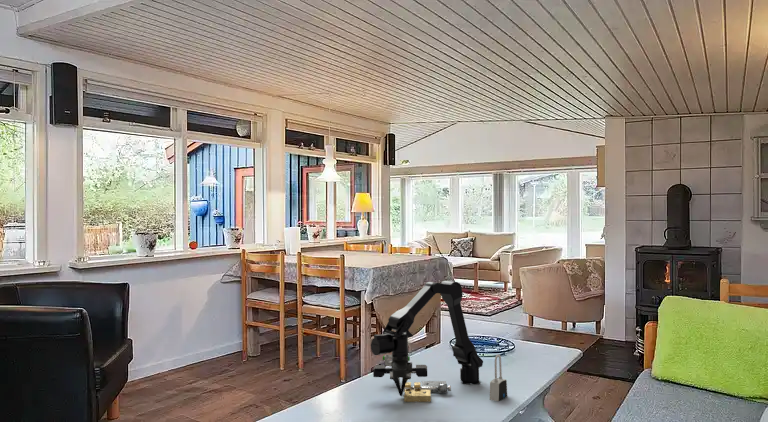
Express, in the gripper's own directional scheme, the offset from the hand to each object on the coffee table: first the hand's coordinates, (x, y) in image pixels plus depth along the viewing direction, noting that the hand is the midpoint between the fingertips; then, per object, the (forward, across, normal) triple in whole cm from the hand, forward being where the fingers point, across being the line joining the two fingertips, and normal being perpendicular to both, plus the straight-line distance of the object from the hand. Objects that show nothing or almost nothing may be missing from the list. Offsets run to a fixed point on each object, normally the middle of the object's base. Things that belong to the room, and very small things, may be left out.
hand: (401, 395), depth 202 cm
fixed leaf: (+1, +9, +8) cm, 12 cm away
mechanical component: (+1, -2, +19) cm, 19 cm away
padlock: (+1, +34, 0) cm, 34 cm away
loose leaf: (+1, +6, +1) cm, 6 cm away
